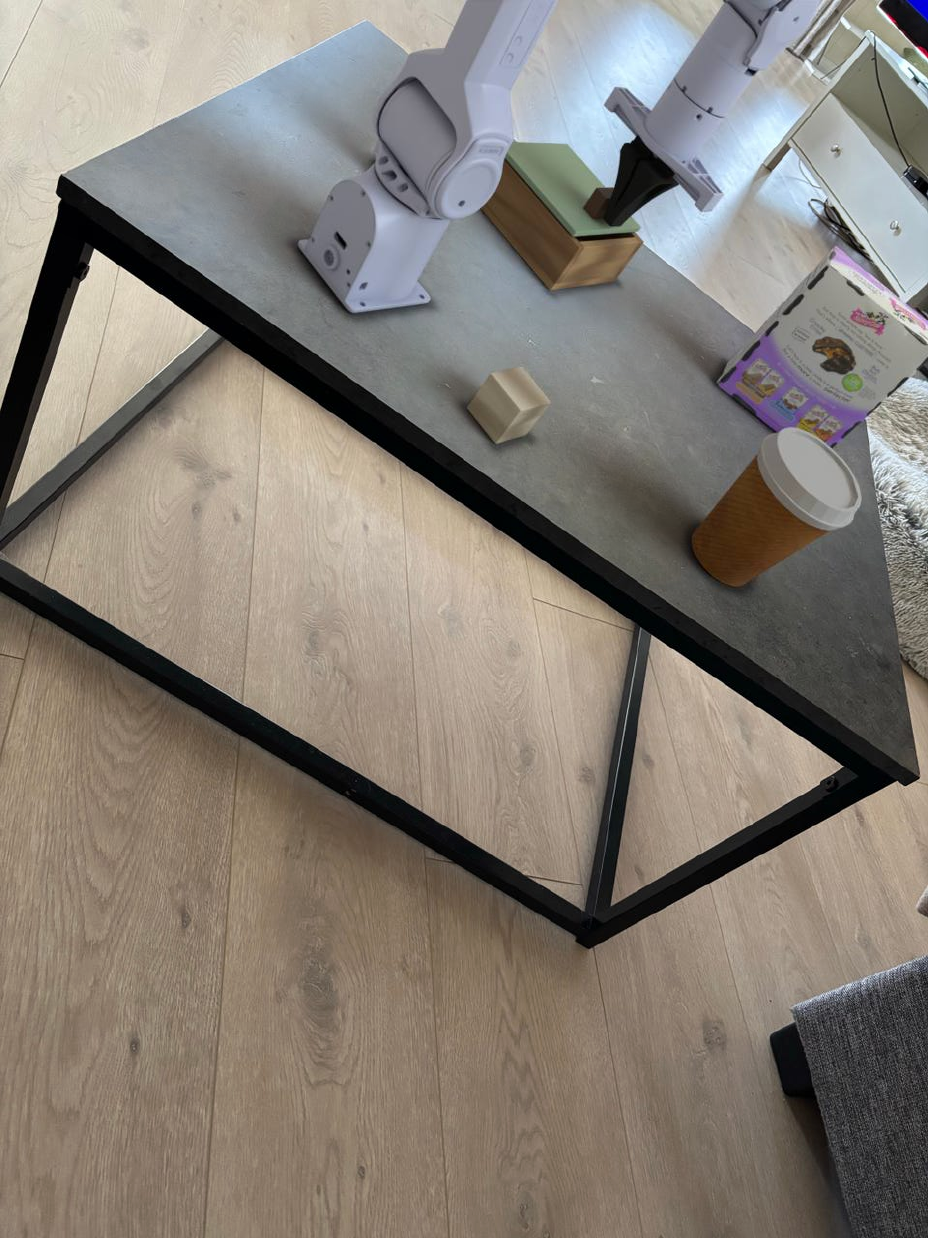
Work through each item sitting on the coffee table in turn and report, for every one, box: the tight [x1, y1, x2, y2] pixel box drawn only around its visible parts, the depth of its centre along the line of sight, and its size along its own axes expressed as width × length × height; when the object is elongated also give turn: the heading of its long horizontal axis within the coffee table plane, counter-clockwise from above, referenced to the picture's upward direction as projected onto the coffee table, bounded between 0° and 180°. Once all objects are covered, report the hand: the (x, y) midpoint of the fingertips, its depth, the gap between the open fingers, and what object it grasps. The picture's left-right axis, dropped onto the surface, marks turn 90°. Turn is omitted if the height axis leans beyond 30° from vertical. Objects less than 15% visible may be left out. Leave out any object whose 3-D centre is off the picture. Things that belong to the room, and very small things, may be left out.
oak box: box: [480, 158, 645, 291], centre depth 99 cm, size 12×13×5 cm
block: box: [466, 365, 552, 445], centre depth 78 cm, size 4×4×4 cm
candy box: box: [716, 245, 928, 450], centre depth 99 cm, size 14×6×16 cm, turn 65°
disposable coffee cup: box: [691, 427, 863, 587], centre depth 80 cm, size 10×10×12 cm
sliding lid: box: [505, 141, 642, 237], centre depth 96 cm, size 12×13×3 cm
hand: (611, 221), depth 95 cm, fingers closed
